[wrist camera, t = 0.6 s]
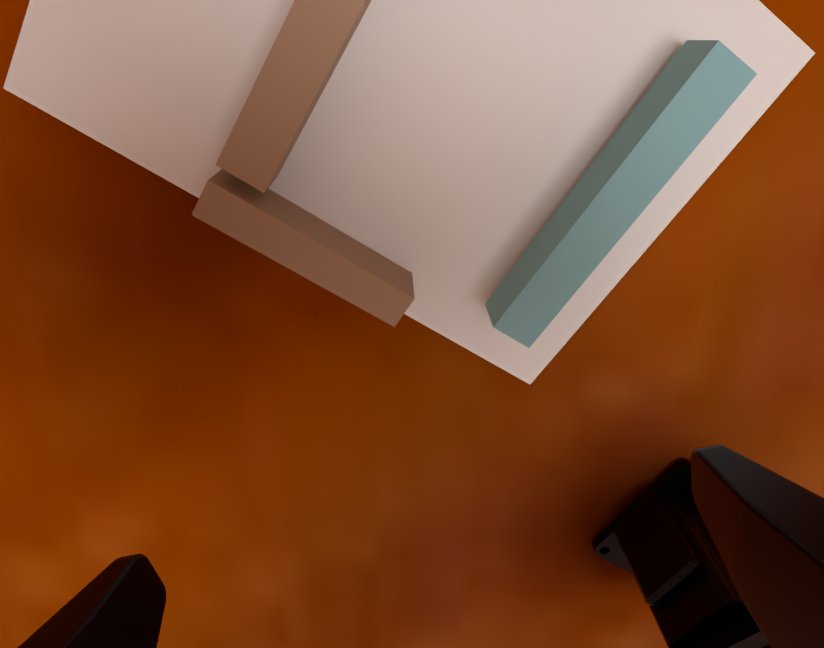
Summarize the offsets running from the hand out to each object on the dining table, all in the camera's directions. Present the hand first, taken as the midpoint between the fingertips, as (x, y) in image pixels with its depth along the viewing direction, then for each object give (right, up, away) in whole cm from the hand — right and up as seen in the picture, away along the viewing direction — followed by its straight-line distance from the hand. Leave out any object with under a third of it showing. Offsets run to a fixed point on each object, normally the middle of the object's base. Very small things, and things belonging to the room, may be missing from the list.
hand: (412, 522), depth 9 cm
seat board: (0, +11, +9) cm, 14 cm away
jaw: (+6, +7, +9) cm, 13 cm away
